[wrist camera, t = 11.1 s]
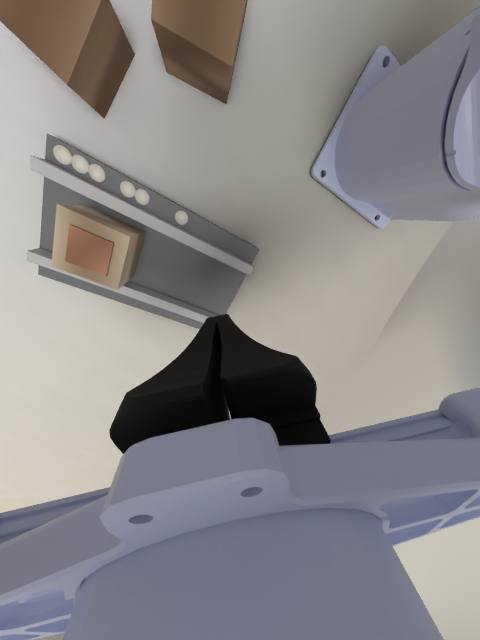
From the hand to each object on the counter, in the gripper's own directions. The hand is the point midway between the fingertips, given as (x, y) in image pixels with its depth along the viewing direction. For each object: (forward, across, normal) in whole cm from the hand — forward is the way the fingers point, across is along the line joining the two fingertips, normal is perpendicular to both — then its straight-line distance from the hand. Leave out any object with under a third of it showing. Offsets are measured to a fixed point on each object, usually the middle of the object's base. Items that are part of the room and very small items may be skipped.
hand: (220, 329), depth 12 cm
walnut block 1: (+9, +5, -16) cm, 19 cm away
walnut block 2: (+9, -3, -15) cm, 18 cm away
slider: (+8, +7, -5) cm, 12 cm away
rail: (+9, +5, -3) cm, 11 cm away
